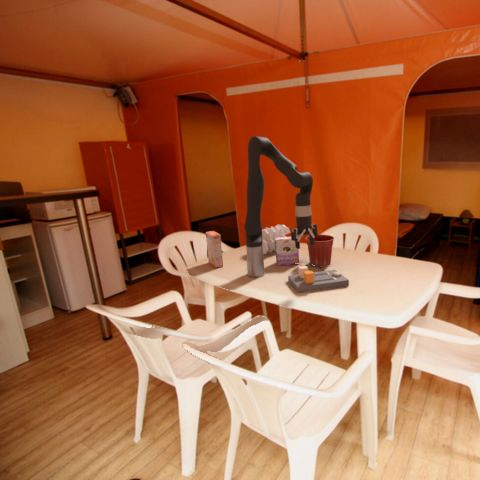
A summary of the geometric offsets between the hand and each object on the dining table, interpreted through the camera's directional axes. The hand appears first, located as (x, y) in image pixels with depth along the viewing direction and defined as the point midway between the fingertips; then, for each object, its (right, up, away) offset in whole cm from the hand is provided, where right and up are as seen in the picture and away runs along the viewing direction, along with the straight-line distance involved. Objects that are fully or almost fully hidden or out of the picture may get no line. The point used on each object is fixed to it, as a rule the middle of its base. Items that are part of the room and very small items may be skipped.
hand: (305, 246), depth 162 cm
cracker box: (-48, -13, +49) cm, 69 cm away
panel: (+8, -19, +6) cm, 21 cm away
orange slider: (+2, -17, +1) cm, 17 cm away
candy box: (-3, -11, +40) cm, 42 cm away
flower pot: (+16, -11, +35) cm, 40 cm away
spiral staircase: (-10, -5, +67) cm, 68 cm away
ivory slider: (+1, -15, +8) cm, 18 cm away
